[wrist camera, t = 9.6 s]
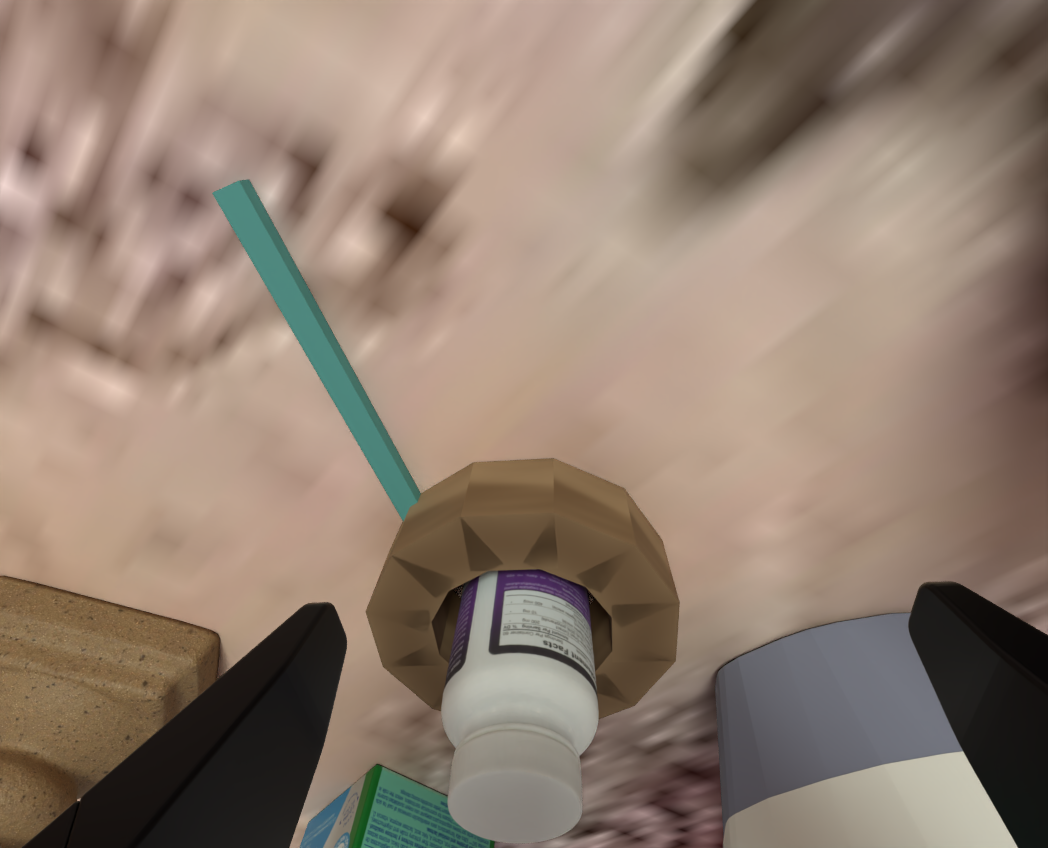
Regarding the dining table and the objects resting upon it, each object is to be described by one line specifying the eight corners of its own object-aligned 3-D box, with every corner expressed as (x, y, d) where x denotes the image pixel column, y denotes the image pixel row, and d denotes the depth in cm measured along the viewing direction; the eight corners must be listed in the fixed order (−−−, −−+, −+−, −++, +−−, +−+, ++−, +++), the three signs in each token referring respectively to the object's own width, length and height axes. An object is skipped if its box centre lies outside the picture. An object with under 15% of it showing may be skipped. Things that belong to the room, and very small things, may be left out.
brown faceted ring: (665, 452, 21) (686, 507, 18) (657, 659, 26) (671, 728, 23) (367, 467, 22) (337, 522, 19) (420, 664, 27) (403, 731, 24)
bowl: (1018, 741, 28) (1269, 1062, 18) (733, 803, 32) (813, 1094, 22) (981, 536, 22) (1328, 855, 12) (635, 644, 26) (685, 949, 16)
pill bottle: (513, 629, 26) (494, 872, 17) (443, 558, 24) (383, 792, 15) (610, 585, 24) (641, 829, 16) (543, 504, 22) (537, 733, 14)
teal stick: (433, 517, 23) (430, 525, 22) (412, 522, 23) (409, 531, 22) (248, 179, 17) (238, 180, 16) (222, 191, 17) (212, 192, 16)
